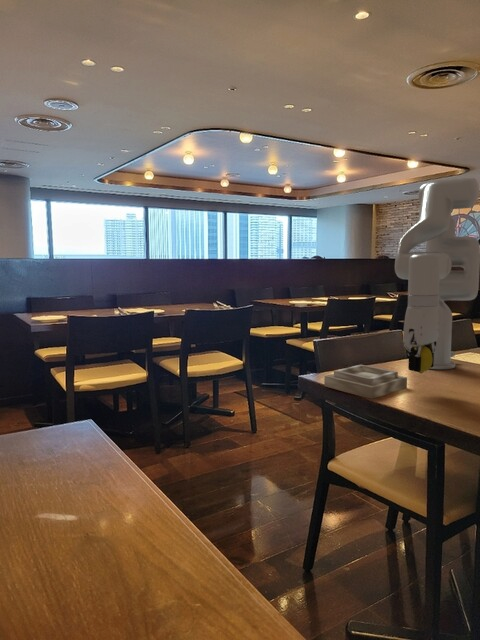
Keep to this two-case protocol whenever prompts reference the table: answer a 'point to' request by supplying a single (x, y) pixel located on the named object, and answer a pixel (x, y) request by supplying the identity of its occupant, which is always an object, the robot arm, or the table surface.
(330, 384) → the stand
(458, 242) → the robot arm
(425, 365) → the lemon
